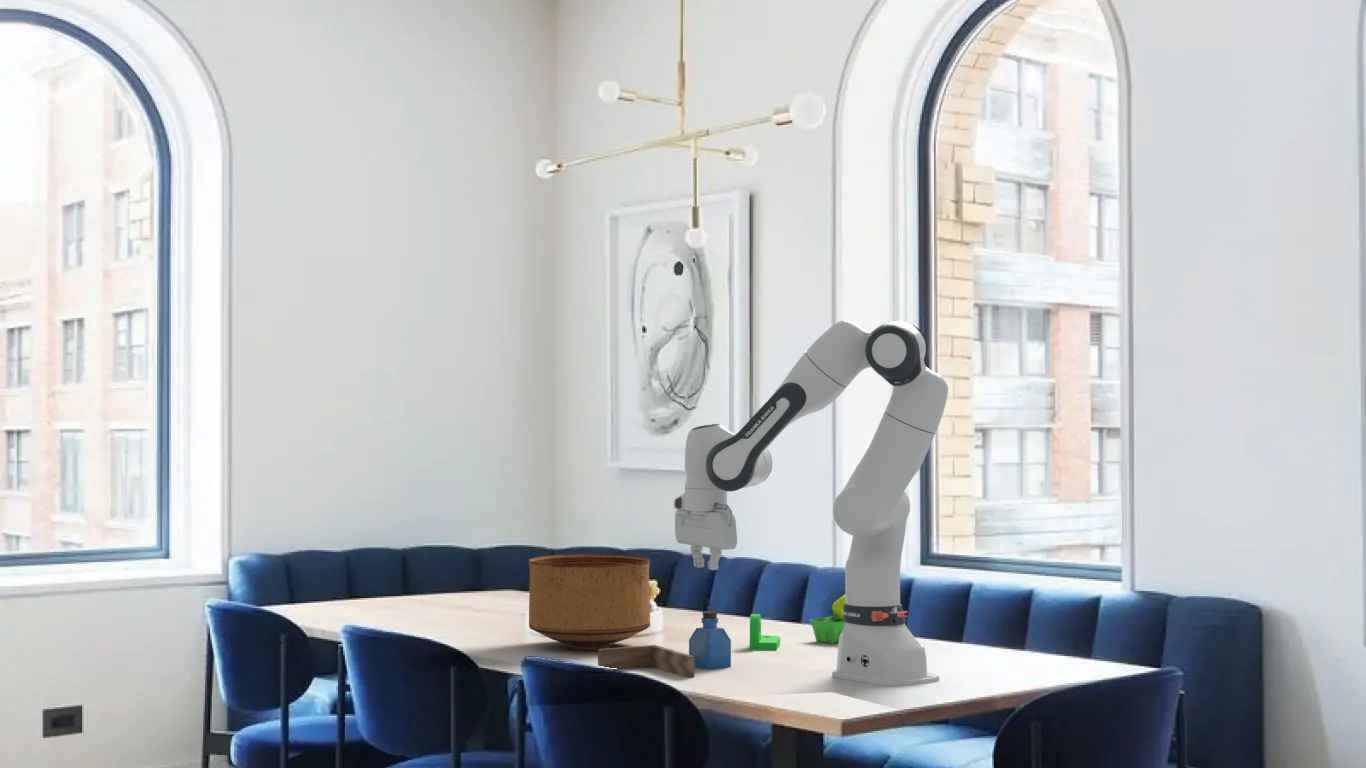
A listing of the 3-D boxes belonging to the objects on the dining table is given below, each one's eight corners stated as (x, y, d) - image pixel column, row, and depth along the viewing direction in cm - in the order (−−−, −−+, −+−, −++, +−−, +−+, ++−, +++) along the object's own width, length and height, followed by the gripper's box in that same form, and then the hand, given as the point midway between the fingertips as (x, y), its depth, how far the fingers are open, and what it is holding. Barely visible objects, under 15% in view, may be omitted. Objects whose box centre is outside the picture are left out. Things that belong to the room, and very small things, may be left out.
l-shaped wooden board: (694, 681, 334) (694, 656, 334) (635, 686, 328) (635, 660, 328) (654, 668, 350) (654, 644, 350) (598, 673, 344) (597, 649, 344)
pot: (518, 641, 391) (518, 555, 391) (633, 636, 398) (633, 552, 399) (541, 658, 364) (541, 566, 365) (664, 653, 372) (664, 563, 372)
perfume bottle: (730, 670, 349) (730, 612, 349) (708, 673, 345) (708, 614, 345) (711, 666, 353) (711, 609, 353) (689, 669, 349) (688, 612, 349)
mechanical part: (776, 651, 375) (776, 616, 375) (749, 651, 376) (749, 615, 376) (781, 644, 387) (781, 609, 387) (755, 643, 388) (755, 609, 388)
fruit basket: (839, 636, 399) (839, 589, 399) (868, 640, 392) (868, 592, 392) (808, 641, 391) (808, 592, 391) (837, 645, 384) (837, 596, 384)
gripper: (744, 504, 341) (744, 571, 341) (695, 499, 359) (695, 563, 359) (717, 505, 338) (717, 573, 338) (669, 500, 356) (669, 565, 356)
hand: (706, 568), depth 349 cm, fingers open, 4 cm apart
